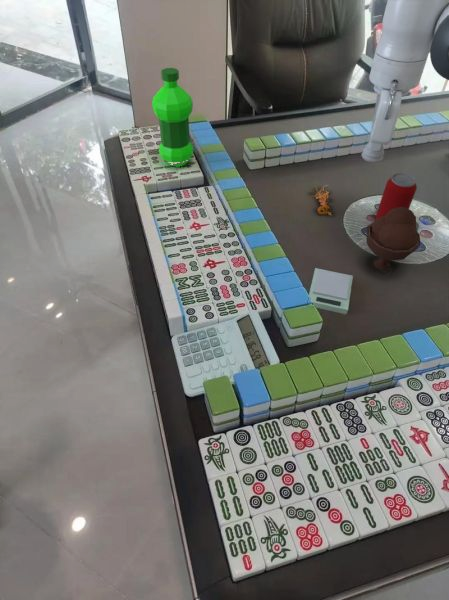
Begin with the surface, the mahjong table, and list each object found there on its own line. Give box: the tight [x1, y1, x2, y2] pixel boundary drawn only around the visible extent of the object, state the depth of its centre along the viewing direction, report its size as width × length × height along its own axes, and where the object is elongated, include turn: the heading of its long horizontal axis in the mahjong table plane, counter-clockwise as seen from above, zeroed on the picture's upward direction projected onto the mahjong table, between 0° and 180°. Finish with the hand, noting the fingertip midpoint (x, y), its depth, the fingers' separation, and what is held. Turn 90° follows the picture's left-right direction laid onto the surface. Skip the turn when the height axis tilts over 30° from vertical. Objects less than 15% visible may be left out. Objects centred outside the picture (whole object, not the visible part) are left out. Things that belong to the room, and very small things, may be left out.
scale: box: [308, 267, 354, 315], centre depth 89 cm, size 8×10×3 cm
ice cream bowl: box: [366, 207, 421, 271], centre depth 90 cm, size 11×11×15 cm
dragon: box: [311, 184, 332, 216], centre depth 111 cm, size 4×11×4 cm, turn 178°
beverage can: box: [375, 172, 418, 220], centre depth 103 cm, size 7×7×12 cm
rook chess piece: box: [360, 140, 385, 164], centre depth 86 cm, size 4×4×8 cm
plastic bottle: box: [151, 67, 195, 168], centre depth 116 cm, size 10×10×25 cm
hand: (375, 143), depth 87 cm, fingers closed on rook chess piece, 3 cm apart
